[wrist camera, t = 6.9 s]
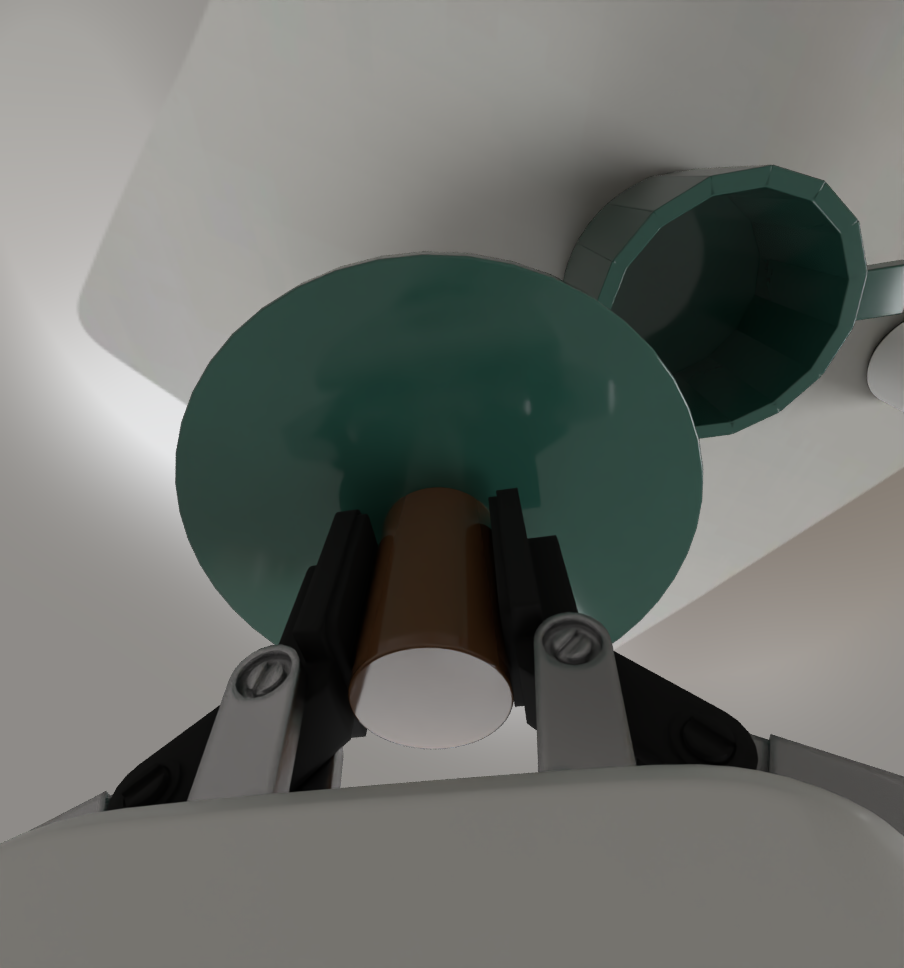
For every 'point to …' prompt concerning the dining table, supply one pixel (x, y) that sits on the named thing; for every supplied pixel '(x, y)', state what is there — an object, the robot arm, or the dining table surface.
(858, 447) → the dining table surface
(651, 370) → the pot lid
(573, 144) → the dining table surface
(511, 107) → the dining table surface
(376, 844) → the robot arm
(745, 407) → the pot
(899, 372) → the can
